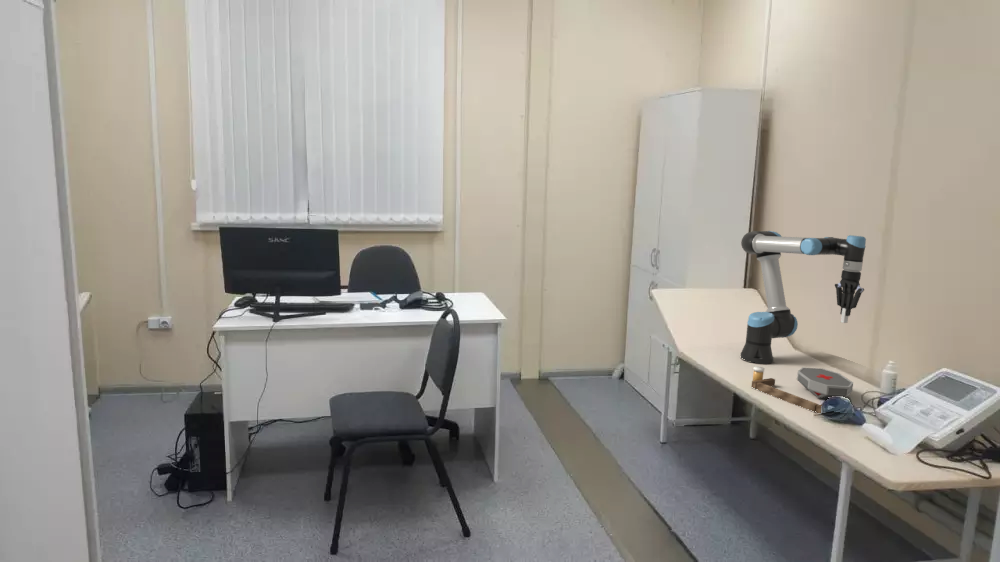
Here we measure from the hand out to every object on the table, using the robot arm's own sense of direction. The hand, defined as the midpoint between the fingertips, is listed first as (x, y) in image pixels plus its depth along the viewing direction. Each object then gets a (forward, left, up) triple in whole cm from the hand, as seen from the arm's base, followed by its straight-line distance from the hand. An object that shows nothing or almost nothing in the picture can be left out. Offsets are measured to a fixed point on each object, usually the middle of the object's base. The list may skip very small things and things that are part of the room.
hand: (843, 322), depth 293 cm
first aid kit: (+12, -25, -27) cm, 39 cm away
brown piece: (+12, -42, -26) cm, 51 cm away
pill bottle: (-8, -42, -26) cm, 51 cm away
